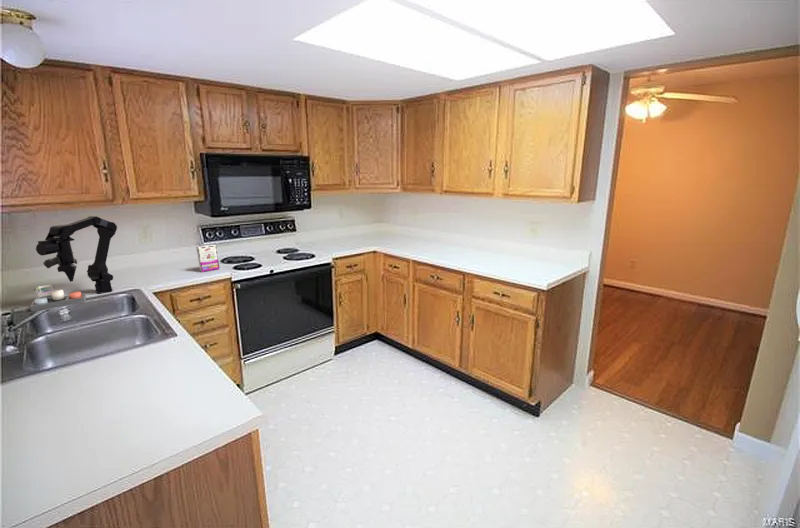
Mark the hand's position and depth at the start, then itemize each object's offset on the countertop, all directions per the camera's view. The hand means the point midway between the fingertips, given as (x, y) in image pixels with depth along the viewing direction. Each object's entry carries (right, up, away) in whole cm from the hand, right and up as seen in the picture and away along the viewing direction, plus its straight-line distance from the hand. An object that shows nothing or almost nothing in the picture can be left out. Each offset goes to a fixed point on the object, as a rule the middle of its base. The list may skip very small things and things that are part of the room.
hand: (71, 281), depth 190 cm
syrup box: (-21, -7, +7) cm, 23 cm away
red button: (0, -10, +3) cm, 10 cm away
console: (-5, -11, -1) cm, 13 cm away
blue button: (-10, -12, -5) cm, 17 cm away
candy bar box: (+40, +4, +59) cm, 72 cm away
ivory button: (-5, -9, -2) cm, 10 cm away
